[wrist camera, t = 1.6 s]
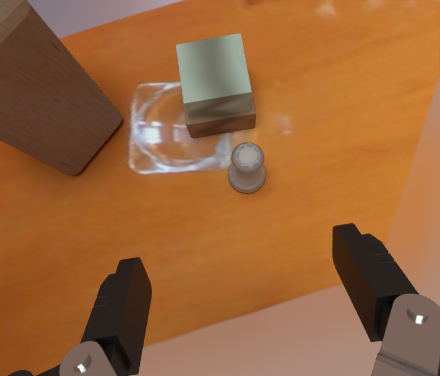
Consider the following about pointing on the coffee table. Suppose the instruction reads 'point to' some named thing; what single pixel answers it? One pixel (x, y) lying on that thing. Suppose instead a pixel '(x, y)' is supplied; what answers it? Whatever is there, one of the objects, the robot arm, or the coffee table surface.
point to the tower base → (215, 86)
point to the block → (48, 94)
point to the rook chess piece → (247, 168)
